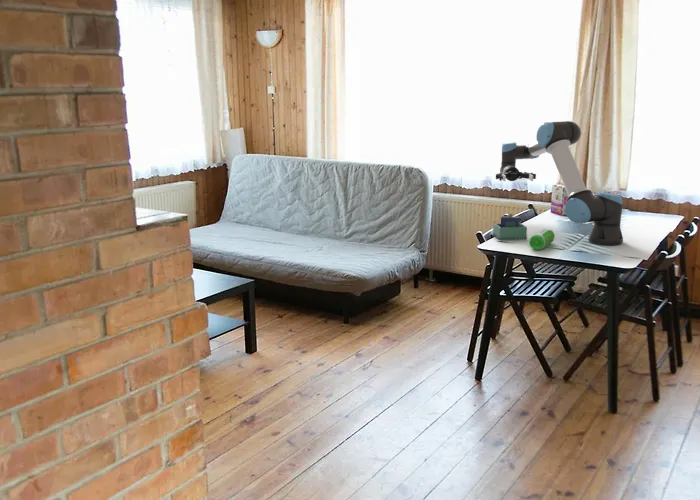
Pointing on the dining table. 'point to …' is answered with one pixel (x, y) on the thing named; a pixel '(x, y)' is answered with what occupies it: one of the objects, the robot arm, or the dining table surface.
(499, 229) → the open box
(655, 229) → the dining table surface
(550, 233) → the speaker
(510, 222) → the flask
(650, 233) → the dining table surface
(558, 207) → the candy bar box
